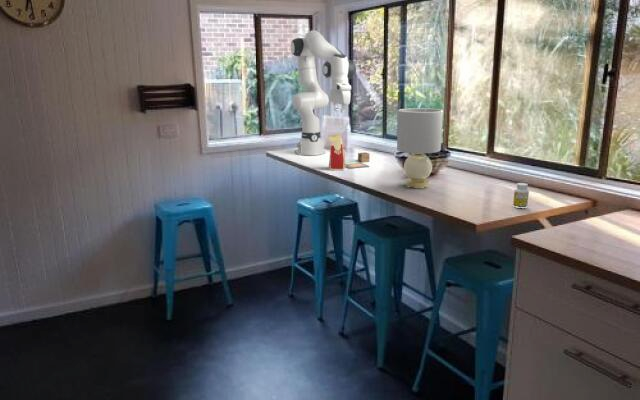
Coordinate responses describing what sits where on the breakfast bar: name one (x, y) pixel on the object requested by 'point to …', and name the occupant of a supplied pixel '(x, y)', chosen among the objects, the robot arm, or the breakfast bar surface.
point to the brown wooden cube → (363, 157)
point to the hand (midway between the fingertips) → (339, 111)
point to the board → (355, 165)
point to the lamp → (419, 142)
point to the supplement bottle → (521, 195)
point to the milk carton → (336, 153)
